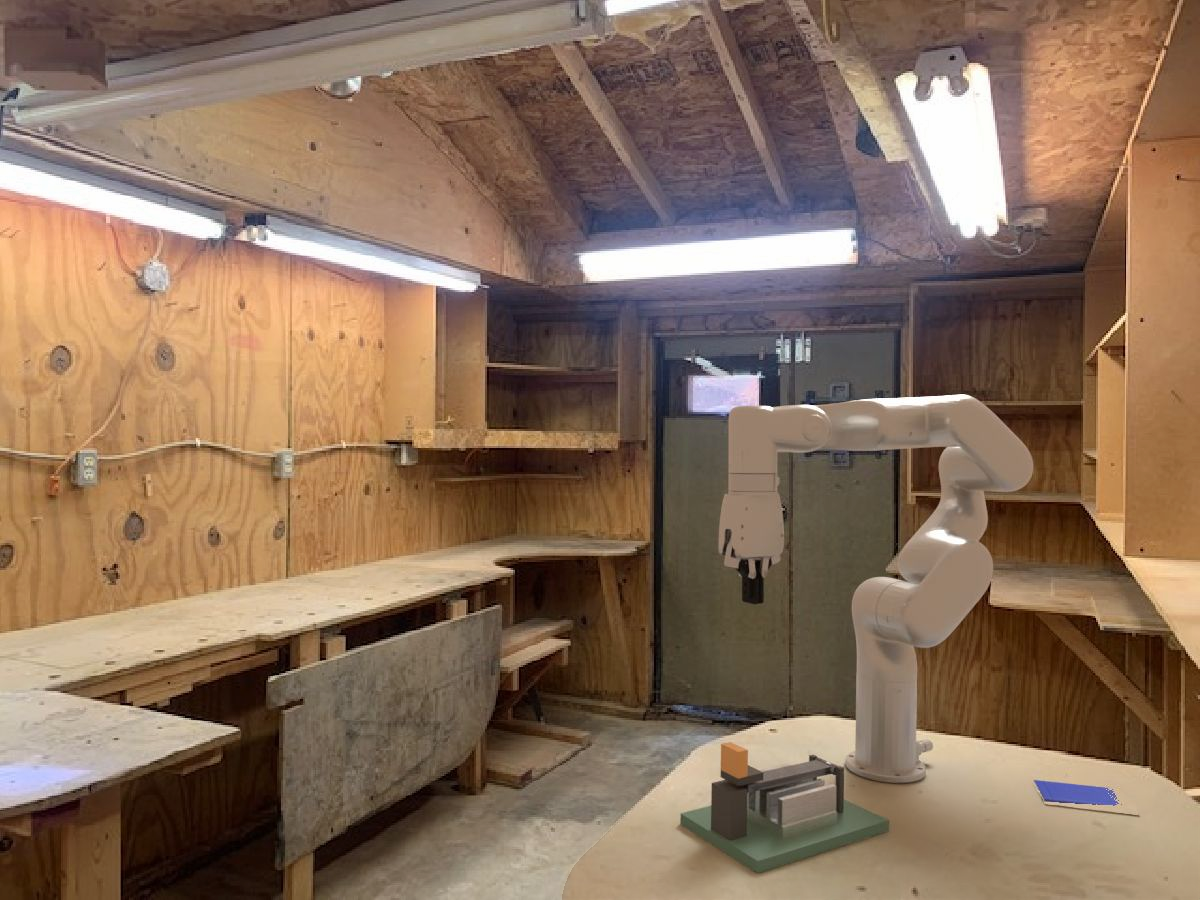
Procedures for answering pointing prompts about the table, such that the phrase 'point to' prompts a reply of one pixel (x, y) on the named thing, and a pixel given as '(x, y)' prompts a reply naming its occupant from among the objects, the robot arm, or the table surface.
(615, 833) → the table surface
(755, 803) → the heat sink
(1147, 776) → the table surface
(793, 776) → the strap
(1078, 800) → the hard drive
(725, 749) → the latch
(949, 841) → the table surface
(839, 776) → the board
